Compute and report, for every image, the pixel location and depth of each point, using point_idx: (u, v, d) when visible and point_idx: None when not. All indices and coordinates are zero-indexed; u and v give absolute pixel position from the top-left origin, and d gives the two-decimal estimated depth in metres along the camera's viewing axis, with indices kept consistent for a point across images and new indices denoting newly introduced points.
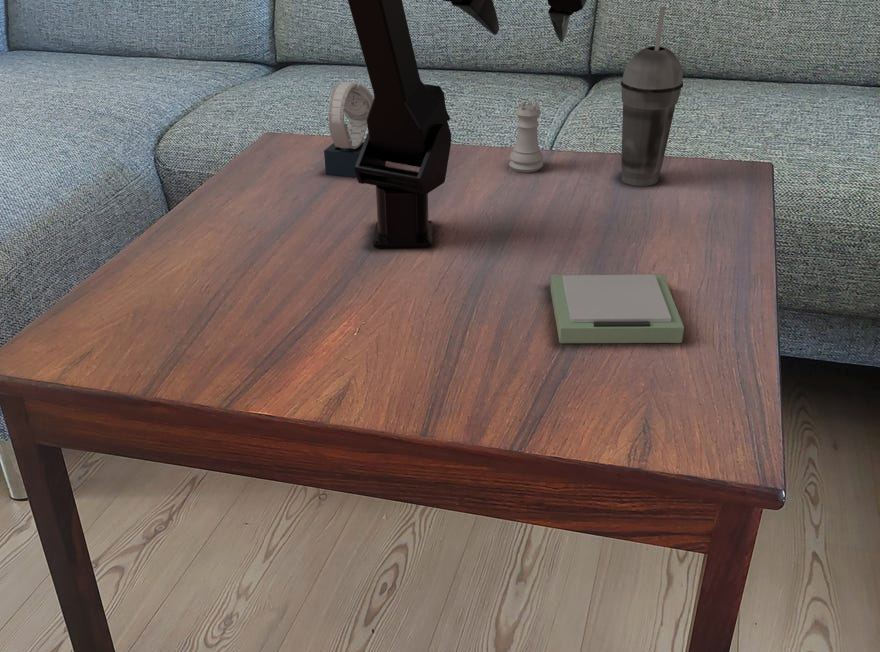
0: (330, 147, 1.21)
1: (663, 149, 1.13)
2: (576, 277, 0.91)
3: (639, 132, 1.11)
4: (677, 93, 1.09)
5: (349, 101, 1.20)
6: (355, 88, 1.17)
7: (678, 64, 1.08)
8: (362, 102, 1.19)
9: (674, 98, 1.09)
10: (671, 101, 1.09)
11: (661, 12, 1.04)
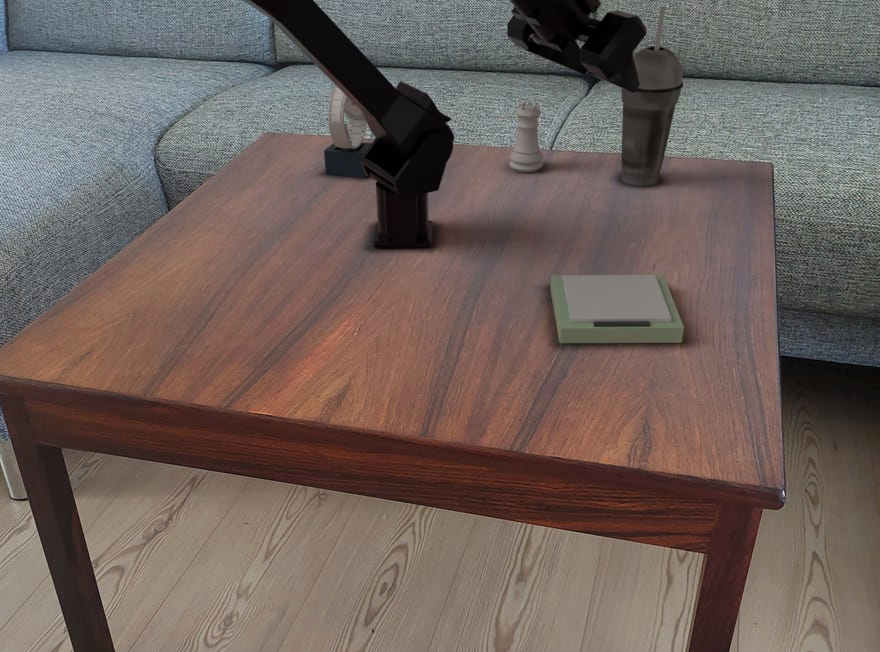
0: (330, 147, 1.21)
1: (663, 149, 1.13)
2: (576, 277, 0.91)
3: (639, 132, 1.11)
4: (677, 93, 1.09)
5: (349, 101, 1.20)
6: None
7: (678, 64, 1.08)
8: None
9: (674, 98, 1.09)
10: (671, 101, 1.09)
11: (661, 12, 1.04)
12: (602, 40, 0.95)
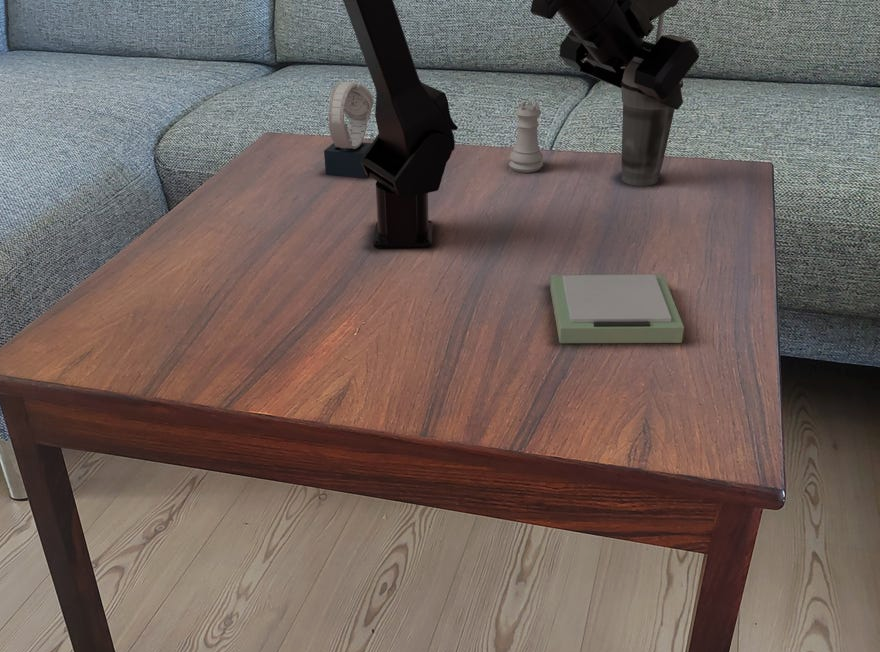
0: (330, 147, 1.21)
1: (663, 149, 1.13)
2: (576, 277, 0.91)
3: (639, 132, 1.11)
4: None
5: (349, 101, 1.20)
6: (355, 88, 1.17)
7: None
8: (362, 102, 1.19)
9: None
10: None
11: None
12: (657, 63, 1.00)
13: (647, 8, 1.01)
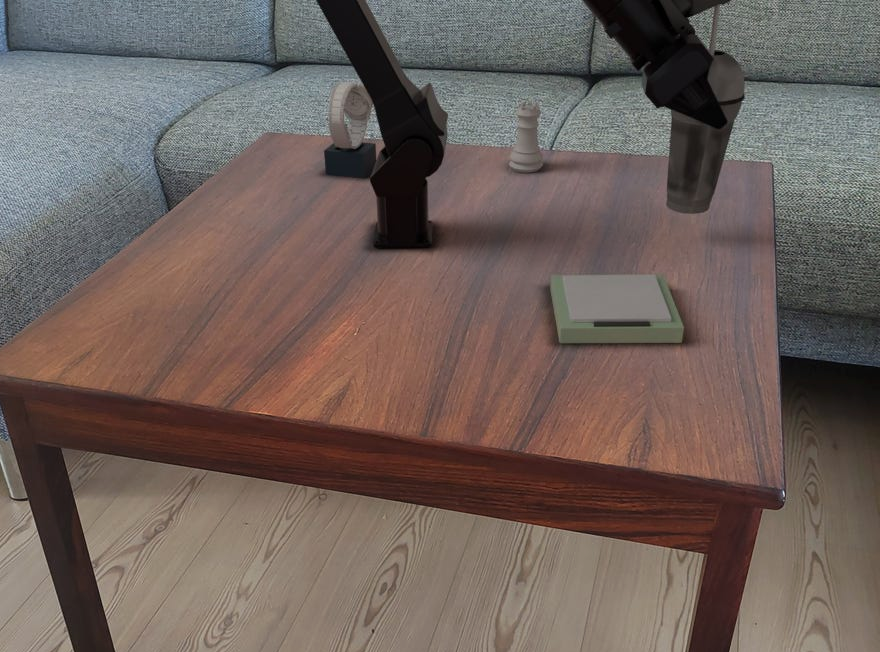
0: (330, 147, 1.21)
1: (706, 175, 0.95)
2: (576, 277, 0.91)
3: (677, 148, 0.95)
4: (724, 110, 0.91)
5: (349, 101, 1.20)
6: (355, 88, 1.17)
7: (731, 75, 0.90)
8: (362, 102, 1.19)
9: None
10: None
11: (715, 9, 0.88)
12: (658, 64, 0.85)
13: (682, 0, 0.86)
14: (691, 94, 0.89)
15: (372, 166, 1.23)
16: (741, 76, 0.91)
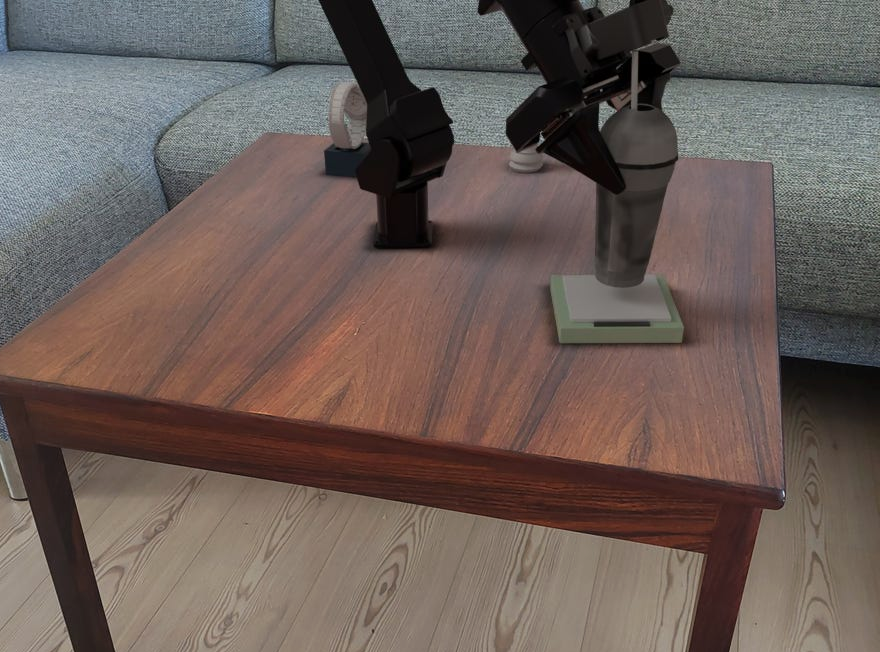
0: (330, 147, 1.21)
1: (617, 245, 0.83)
2: (576, 277, 0.91)
3: (596, 207, 0.84)
4: (627, 174, 0.78)
5: (349, 101, 1.20)
6: (355, 88, 1.17)
7: (639, 136, 0.77)
8: (362, 102, 1.19)
9: None
10: None
11: (632, 56, 0.75)
12: None
13: (587, 40, 0.76)
14: (580, 147, 0.78)
15: None
16: (657, 140, 0.77)
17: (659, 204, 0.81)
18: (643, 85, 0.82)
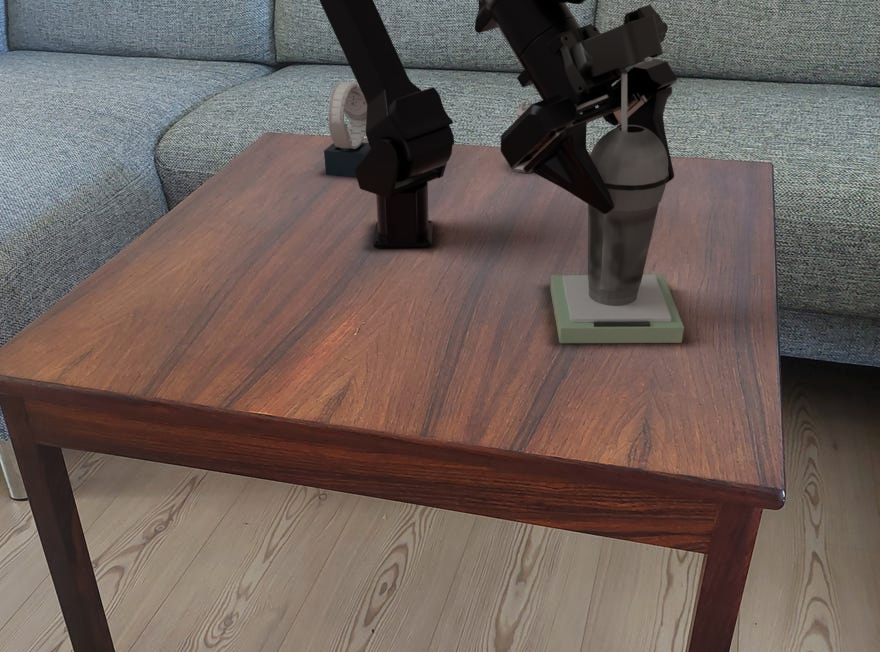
0: (330, 147, 1.21)
1: (609, 264, 0.84)
2: (576, 277, 0.91)
3: (588, 226, 0.84)
4: (617, 195, 0.79)
5: (349, 101, 1.20)
6: (355, 88, 1.17)
7: (628, 157, 0.77)
8: (362, 102, 1.19)
9: (612, 199, 0.79)
10: None
11: (621, 79, 0.76)
12: None
13: (581, 58, 0.76)
14: (568, 166, 0.78)
15: None
16: (647, 161, 0.77)
17: (650, 224, 0.82)
18: (645, 99, 0.83)
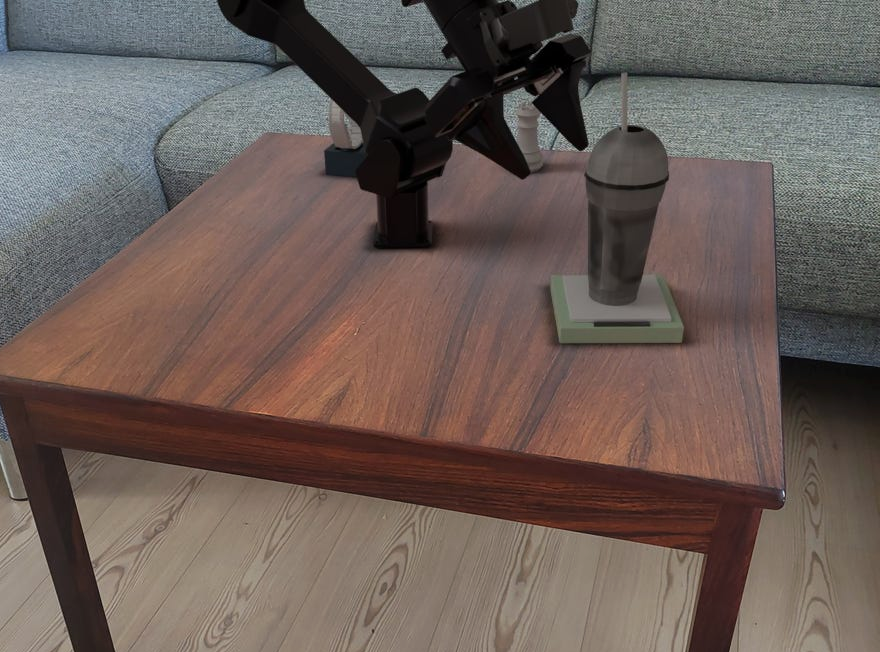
0: (330, 147, 1.21)
1: (609, 263, 0.84)
2: (576, 277, 0.91)
3: (588, 226, 0.84)
4: (617, 194, 0.79)
5: None
6: None
7: (628, 157, 0.77)
8: None
9: (612, 199, 0.79)
10: (607, 201, 0.80)
11: (621, 79, 0.76)
12: None
13: (498, 32, 0.82)
14: (487, 135, 0.84)
15: None
16: (647, 161, 0.77)
17: (650, 223, 0.82)
18: (561, 71, 0.88)
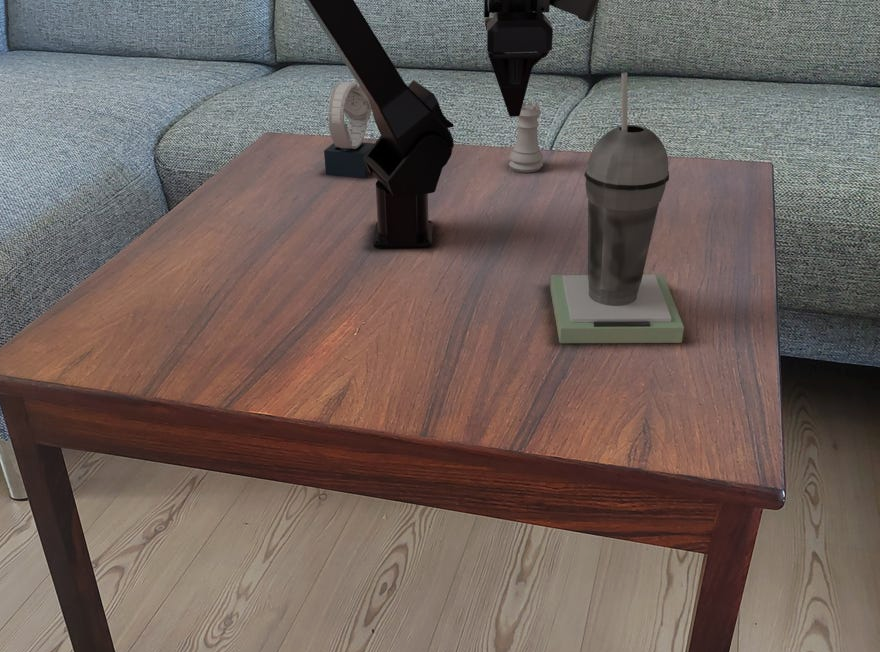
0: (330, 147, 1.21)
1: (609, 263, 0.84)
2: (576, 277, 0.91)
3: (588, 226, 0.84)
4: (617, 194, 0.79)
5: (349, 101, 1.20)
6: (355, 88, 1.17)
7: (628, 157, 0.77)
8: (362, 102, 1.19)
9: (612, 199, 0.79)
10: (607, 201, 0.80)
11: (621, 79, 0.76)
12: (512, 17, 0.89)
13: None
14: (513, 69, 0.93)
15: None
16: (647, 161, 0.77)
17: (650, 223, 0.82)
18: None
